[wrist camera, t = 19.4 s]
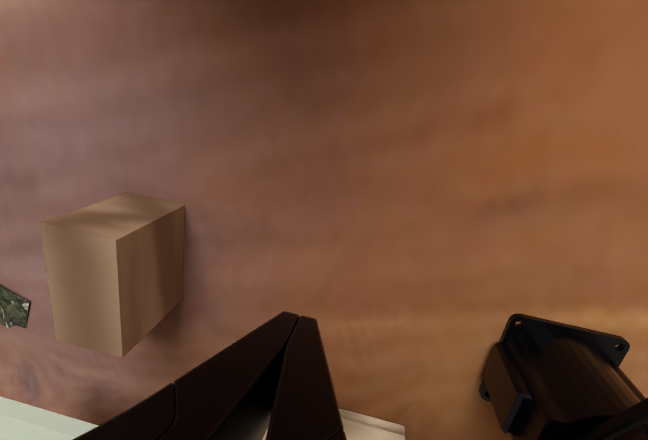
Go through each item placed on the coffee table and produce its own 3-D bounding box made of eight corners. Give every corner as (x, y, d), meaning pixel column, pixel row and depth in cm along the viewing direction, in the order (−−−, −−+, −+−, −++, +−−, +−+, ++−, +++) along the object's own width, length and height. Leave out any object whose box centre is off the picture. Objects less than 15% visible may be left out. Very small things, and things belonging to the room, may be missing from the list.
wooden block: (185, 204, 22) (115, 240, 16) (183, 298, 24) (122, 357, 19) (127, 191, 22) (39, 222, 17) (131, 285, 25) (56, 339, 19)
